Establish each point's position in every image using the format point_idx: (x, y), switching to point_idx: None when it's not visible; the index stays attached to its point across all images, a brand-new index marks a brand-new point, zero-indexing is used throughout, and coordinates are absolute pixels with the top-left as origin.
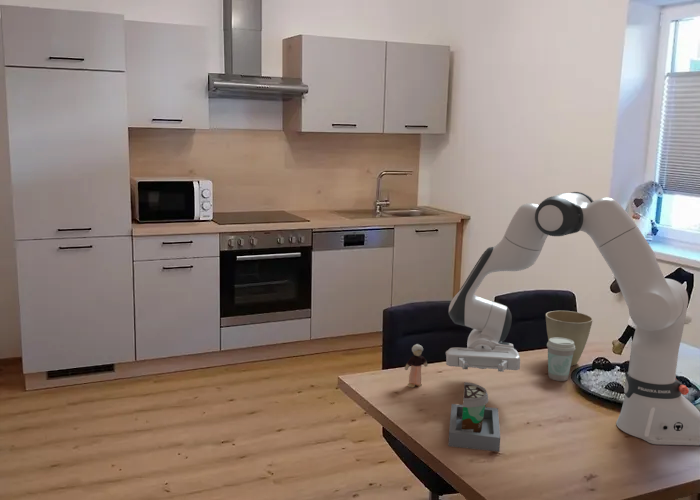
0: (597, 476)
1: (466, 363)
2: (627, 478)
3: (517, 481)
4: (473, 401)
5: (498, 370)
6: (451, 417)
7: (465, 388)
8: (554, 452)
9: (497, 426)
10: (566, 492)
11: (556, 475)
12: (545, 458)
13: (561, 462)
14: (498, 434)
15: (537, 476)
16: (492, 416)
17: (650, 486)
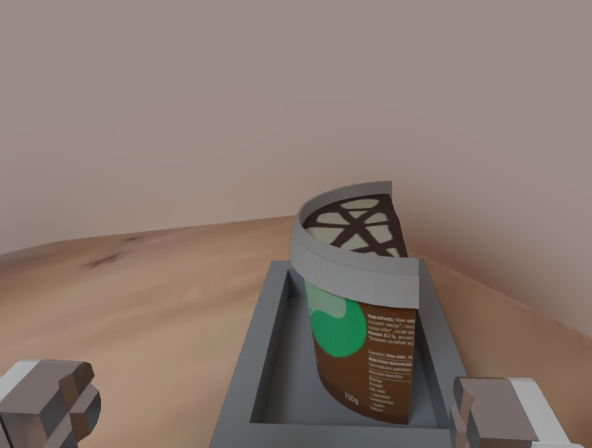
0: (85, 263)
1: (481, 379)
2: (24, 267)
3: (262, 235)
4: (354, 193)
5: (96, 402)
6: (444, 326)
7: (402, 251)
8: (113, 317)
9: (263, 303)
10: (185, 229)
11: (173, 255)
12: (159, 293)
13: (128, 287)
14: (272, 271)
15: (216, 248)
16: (263, 369)
17: (4, 257)
